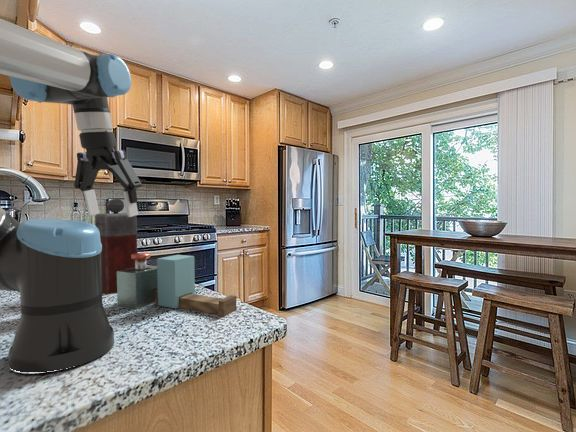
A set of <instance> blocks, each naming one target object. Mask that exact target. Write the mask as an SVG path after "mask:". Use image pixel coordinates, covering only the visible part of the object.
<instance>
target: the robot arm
mask: <svg viewBox="0 0 576 432" xmlns="http://www.w3.org/2000/svg"><path fill="white" fill-rule="evenodd" d="M0 75H4V76H8V78H9V80H10V85H11V88H12V89H13V91H14V92H15V93H16V95H18V96H19V97H20V98H22V99H24V100H26V101H31V102H37V103H41V104H42V103H51V104H65V105H71V106H72V110H73V113H74V117H75V123H76V128H77V130H78V131H80V133H79V135H78V136H79V141H80V146H81V148H82V149H84V150H85V151H83V152H81V151H80V152H77V153H76V159H77V161H76V162H77V164H76V170H75V171H76V172H75V177H74V188H75V189H78V190H80V191H81V192H82V197H83V200H84V203H85V206H86V211H87V214H88V216H89V217H90V216H93V215H96V214H100V209H99V206H98V200H97V195H96V190H95V188H94V187H93V185H94V184H95V180H97V179H96V178H97V176H98V174H99V171H101V170H103V171H105V170H106V171H107V172H110V173H111V175H112V176H113V177H114V178H115V179H116V180H117V181H118V183H119V184H120V185H121V186H122V188H124V190H123V192H122V193H123V197H124V205H125V208H126V213H127V215H128V217H132V216H135V215H136V216H138V215H139V209H138V204H137V203H138V196H137V191H136V190H137V189H138V188H141V187H142V186H143V184H142V182H141V180H140V178H139V177H138V175H137V173H136V171H135V170H134V168H133V166H132V164H131V163H130V162H131V161H129V159H128V156H127V152H126V151H125V150H124V149H121V150H120V149H119V150H118V149H117V150H116V149H115V148H116V146H117V141H116V137H115V133H114V132H113V131H111V130H113V121H112V118H111V117H112V116H111V110H110V107H109V106H110V105H109V101H108V98H115V97H116V96H117V97H119V96H124V95H126V94H127V93H128V92H129V91H130V89H131V87H132V79H131V73H130V69H129V67H128V65H127V64H126V62H125V61H124V60H123V59H122V58H121V57H120V56H118V55H116V54H113V53H99V54H98V55H97V54H91V53H88V52H86V51H83V50H82V49H81V50H80V49H78V48H76V47H73V46H71V45H68V44H65V43H63V42H60V41H59V40H58V41H57V40H56V39H52V38H50V37H49V36H45V35H42V34H40V33H39V32H35V31H33V30H30V29H27V28H25V27H22V26H20V25H17V24H15V23H13V22H9V21H7V20H5V19H3V18H0ZM0 291H9V292H19V296H20V297H19V300H20V320H19V323H18V325H17V329H16V331H15V335H14V339H13V341H12V345H11V346H10V348H9V350H8V354H7V358H8V362H7V363H8V365H9V366H8V368H9V367H10V368H11V369H13V370H16V371H20V372H47V371H54V370H60V369H66V368H69V367H73V366H77V365H80V364H83V365H85V364H84V363H86V364H88V363H90V362H93V361H95V360H97V359H99V358H101V357H103V356H104V355H106V353H108V352H109V351H110V350H111V349H112V348H113V347H114V345H115V331H114V329H113V327H112V325H110V321H109V318H108V316H107V313H106V310H105V309H106V308H105V307H104V303H103V292H102V244H101V240H100V232H99V229H98V228H97V227H96V226H95V224H93V223H90V222H87V221H81V220H72V219H59V218H56V219H55V218H40V219H39V218H37V219H28V220H23V221H21V223H20V222H19V221H18V220H17V219H15V218H14V217H13V216H12V215H11V214H9V213H8V212H7V211H6V210H4V208H2V207H0ZM100 356H101V357H100ZM98 357H99V358H98ZM96 358H97V359H96ZM94 359H95V360H94ZM92 360H93V361H92ZM89 361H90V362H89ZM87 362H88V363H87ZM80 366H81V365H80ZM77 367H78V366H77Z"/></svg>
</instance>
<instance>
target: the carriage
mask: <svg viewBox="0 0 576 432" xmlns="http://www.w3.org/2000/svg"><path fill="white" fill-rule="evenodd" d="M156 263H157V264H156V266H157V280H158V304H157V305H158V306H160V307H165V308H170V309H171V308H172V309H178V308H179V297H180V296H183V295H186V294H195V293H196V292H195V291H196V289H195V288H196V287H195V286H196V283H195V282H196V280H195V279H196V278H195V256H194V255H187V254H186V255H184V254H174V255H168V256H165V257H159V258H157V259H156ZM195 295H196V294H195Z"/></svg>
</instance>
